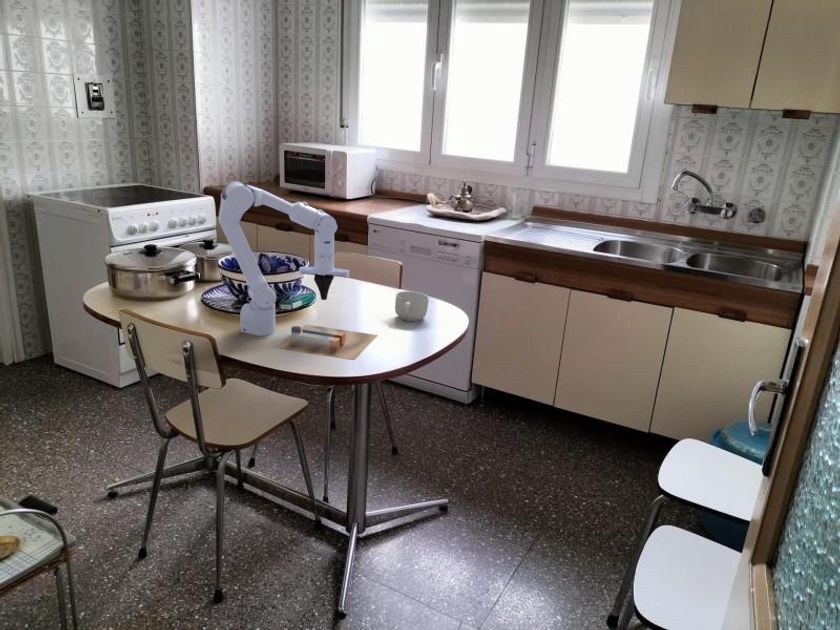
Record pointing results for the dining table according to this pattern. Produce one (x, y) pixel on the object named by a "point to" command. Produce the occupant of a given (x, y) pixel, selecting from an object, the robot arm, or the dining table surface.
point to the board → (348, 350)
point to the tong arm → (326, 333)
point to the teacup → (411, 305)
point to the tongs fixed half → (314, 340)
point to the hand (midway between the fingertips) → (324, 298)
